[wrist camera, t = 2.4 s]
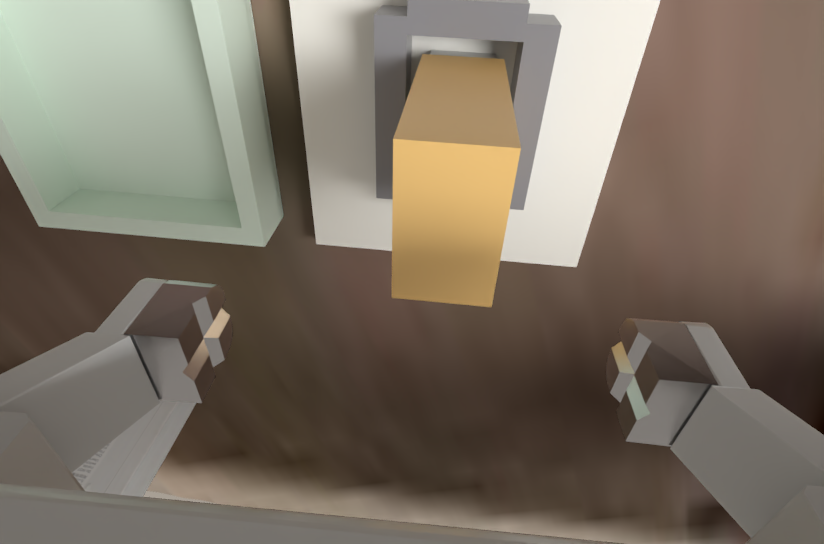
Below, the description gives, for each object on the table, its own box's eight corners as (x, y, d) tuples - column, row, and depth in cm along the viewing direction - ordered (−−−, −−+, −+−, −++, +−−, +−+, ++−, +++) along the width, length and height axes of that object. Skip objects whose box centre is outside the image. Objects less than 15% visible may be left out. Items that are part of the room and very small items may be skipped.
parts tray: (233, -110, 18) (195, -112, 15) (283, 215, 26) (264, 246, 24) (-70, -123, 18) (-151, -127, 16) (77, 198, 27) (39, 226, 25)
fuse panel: (690, -128, 16) (727, -134, 14) (573, 256, 26) (583, 291, 23) (282, -144, 17) (251, -152, 14) (321, 233, 27) (305, 266, 24)
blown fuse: (501, 45, 19) (520, 148, 11) (485, 162, 22) (491, 307, 14) (426, 41, 19) (393, 138, 11) (421, 157, 22) (391, 297, 14)
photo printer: (76, 379, 38) (-61, 542, 28) (62, 344, 35) (-93, 510, 26) (203, 406, 39) (112, 576, 29) (199, 373, 36) (97, 548, 26)
